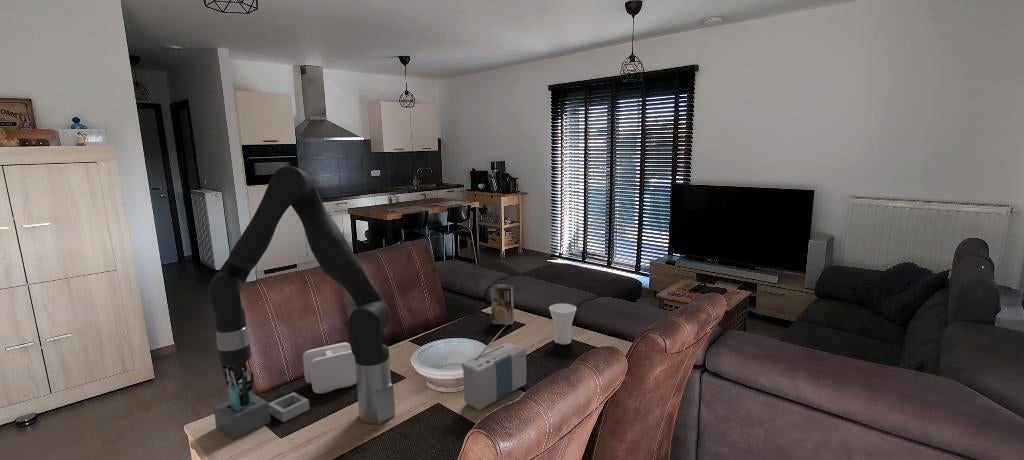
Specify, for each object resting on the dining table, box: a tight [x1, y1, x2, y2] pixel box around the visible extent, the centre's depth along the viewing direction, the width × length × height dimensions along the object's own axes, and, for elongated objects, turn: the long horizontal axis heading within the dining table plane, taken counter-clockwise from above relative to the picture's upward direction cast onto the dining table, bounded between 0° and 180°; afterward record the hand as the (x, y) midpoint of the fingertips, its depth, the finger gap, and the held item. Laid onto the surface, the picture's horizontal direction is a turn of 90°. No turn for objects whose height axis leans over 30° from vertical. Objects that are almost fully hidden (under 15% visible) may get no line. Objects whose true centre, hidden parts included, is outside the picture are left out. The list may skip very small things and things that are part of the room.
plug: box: [227, 380, 253, 412], centre depth 132 cm, size 4×4×10 cm
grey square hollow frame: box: [269, 391, 310, 423], centre depth 140 cm, size 8×8×3 cm
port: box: [213, 392, 272, 440], centre depth 133 cm, size 10×10×6 cm
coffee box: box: [490, 283, 515, 325], centre depth 207 cm, size 9×6×16 cm
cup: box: [548, 303, 577, 345], centre depth 185 cm, size 10×10×14 cm
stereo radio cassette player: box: [461, 324, 527, 411], centre depth 145 cm, size 21×8×20 cm, turn 137°
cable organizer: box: [302, 342, 357, 394], centre depth 155 cm, size 15×11×12 cm
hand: (241, 402), depth 132 cm, fingers closed on plug, 3 cm apart
